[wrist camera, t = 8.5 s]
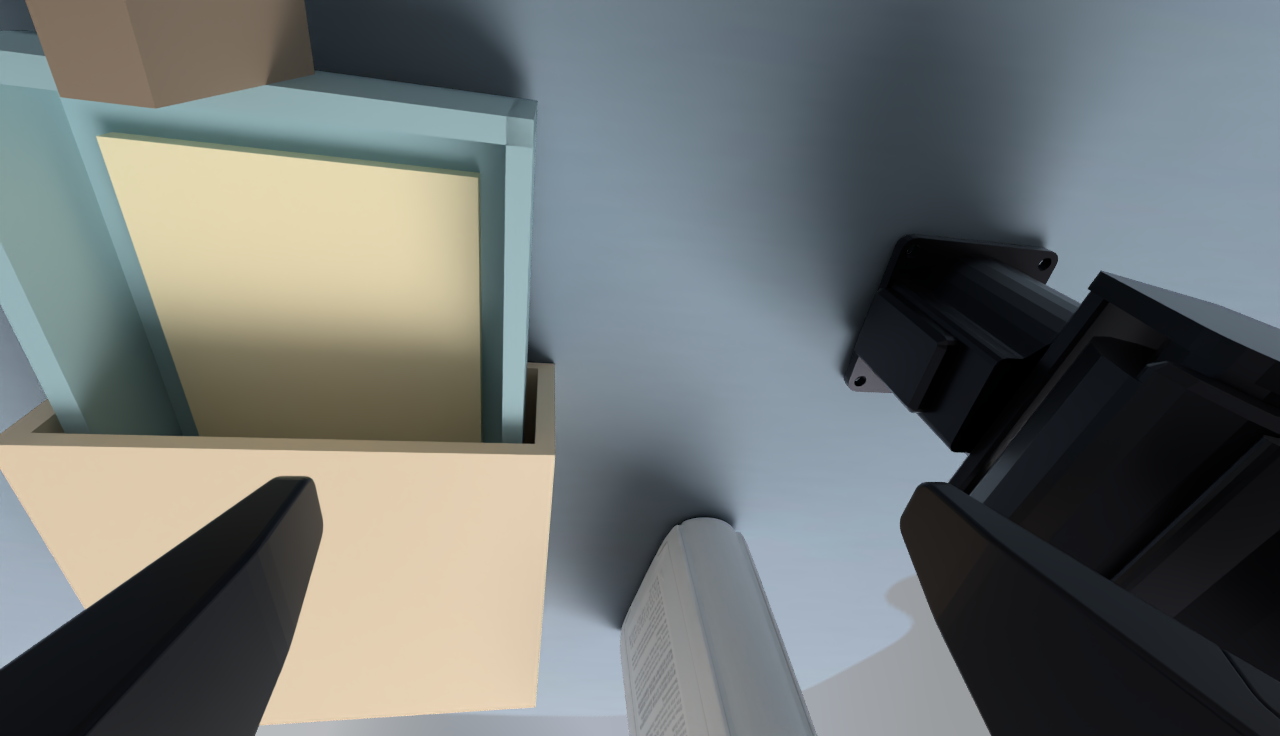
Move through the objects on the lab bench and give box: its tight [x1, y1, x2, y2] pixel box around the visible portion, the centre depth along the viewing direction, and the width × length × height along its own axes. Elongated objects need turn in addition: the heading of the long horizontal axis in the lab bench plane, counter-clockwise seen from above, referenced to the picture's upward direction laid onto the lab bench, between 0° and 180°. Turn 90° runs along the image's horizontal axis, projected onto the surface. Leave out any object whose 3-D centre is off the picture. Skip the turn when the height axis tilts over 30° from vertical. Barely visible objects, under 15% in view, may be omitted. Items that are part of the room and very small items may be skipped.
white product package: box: [620, 517, 817, 736], centre depth 23 cm, size 10×4×12 cm, turn 162°
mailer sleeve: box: [0, 362, 555, 725], centre depth 21 cm, size 14×15×5 cm
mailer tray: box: [0, 0, 538, 444], centre depth 14 cm, size 12×18×7 cm, turn 172°
